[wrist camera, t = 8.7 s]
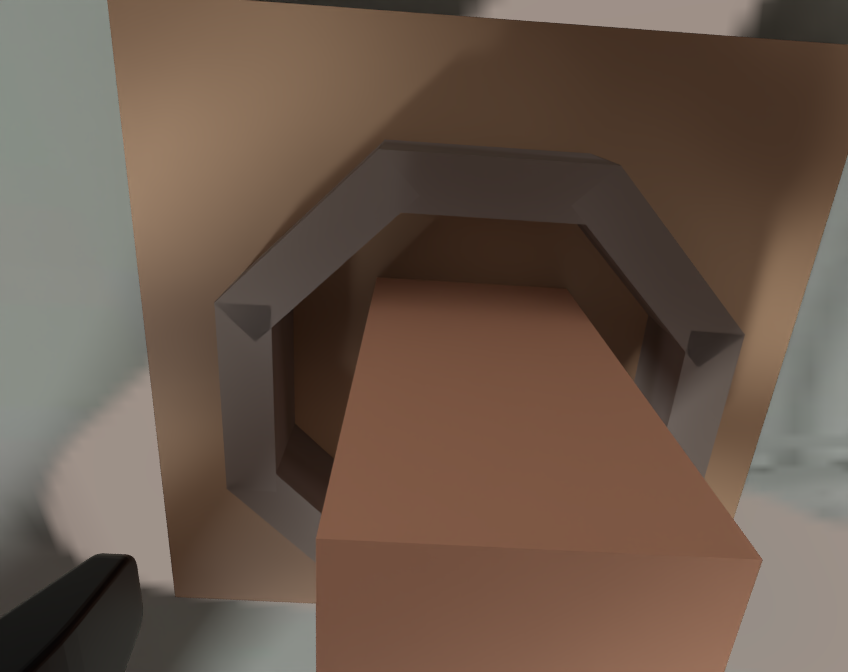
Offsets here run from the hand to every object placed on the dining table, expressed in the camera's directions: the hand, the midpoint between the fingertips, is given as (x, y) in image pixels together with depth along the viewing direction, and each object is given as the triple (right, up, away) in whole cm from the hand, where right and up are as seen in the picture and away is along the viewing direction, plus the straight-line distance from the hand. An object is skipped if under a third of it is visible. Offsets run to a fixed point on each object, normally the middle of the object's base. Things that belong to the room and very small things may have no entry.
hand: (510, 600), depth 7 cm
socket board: (0, +3, +7) cm, 8 cm away
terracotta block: (0, +2, +6) cm, 7 cm away
